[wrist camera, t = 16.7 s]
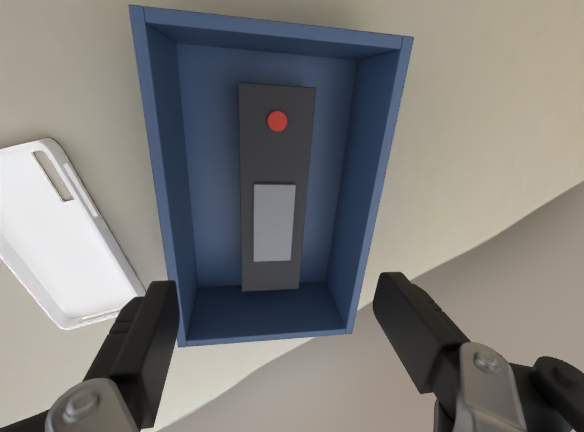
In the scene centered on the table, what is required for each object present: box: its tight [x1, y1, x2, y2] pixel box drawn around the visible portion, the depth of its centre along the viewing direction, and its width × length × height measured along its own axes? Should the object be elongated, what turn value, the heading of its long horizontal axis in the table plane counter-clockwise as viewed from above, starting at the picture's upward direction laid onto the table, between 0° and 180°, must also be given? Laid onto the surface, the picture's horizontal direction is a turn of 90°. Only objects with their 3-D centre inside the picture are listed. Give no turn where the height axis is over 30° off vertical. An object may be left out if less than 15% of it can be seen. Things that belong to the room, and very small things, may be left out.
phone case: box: [0, 138, 146, 330], centre depth 21 cm, size 7×1×15 cm
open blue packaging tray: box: [129, 5, 414, 347], centre depth 20 cm, size 13×20×6 cm, turn 176°
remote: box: [238, 82, 316, 292], centre depth 21 cm, size 5×15×4 cm, turn 177°
